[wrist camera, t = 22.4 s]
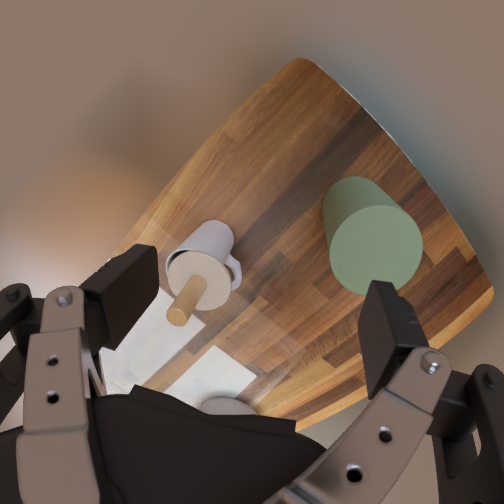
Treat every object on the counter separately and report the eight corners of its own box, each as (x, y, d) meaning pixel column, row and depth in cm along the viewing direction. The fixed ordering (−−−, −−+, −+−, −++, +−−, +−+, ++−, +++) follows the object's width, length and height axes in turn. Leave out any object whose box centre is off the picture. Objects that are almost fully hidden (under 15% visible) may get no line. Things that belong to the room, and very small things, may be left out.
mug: (188, 240, 49) (157, 274, 39) (209, 209, 47) (180, 237, 36) (237, 276, 51) (219, 318, 40) (261, 247, 48) (247, 286, 37)
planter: (193, 413, 71) (175, 459, 57) (205, 379, 63) (185, 432, 50) (253, 433, 70) (243, 480, 57) (276, 402, 63) (267, 457, 49)
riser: (317, 180, 42) (324, 211, 28) (384, 173, 40) (423, 201, 25) (325, 244, 46) (332, 301, 31) (387, 236, 43) (420, 290, 29)
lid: (161, 254, 37) (130, 285, 30) (223, 246, 35) (202, 280, 28) (180, 309, 40) (156, 346, 33) (238, 306, 38) (223, 347, 31)
